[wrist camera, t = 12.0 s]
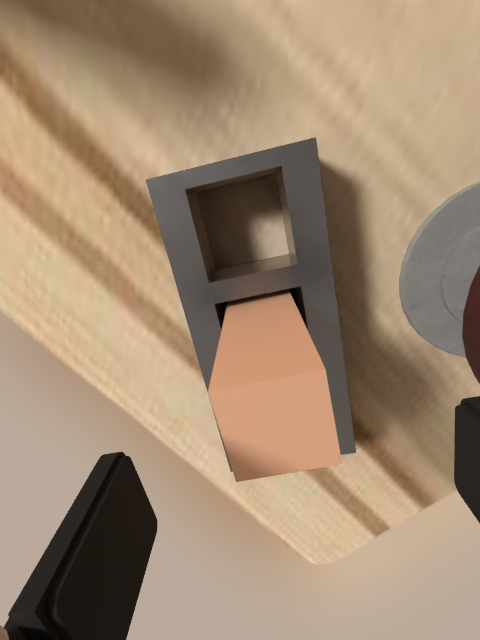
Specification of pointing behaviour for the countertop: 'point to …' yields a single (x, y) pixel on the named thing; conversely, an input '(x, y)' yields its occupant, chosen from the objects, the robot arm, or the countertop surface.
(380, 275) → the countertop surface
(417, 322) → the mate gourd
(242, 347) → the square peg
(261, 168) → the rail
